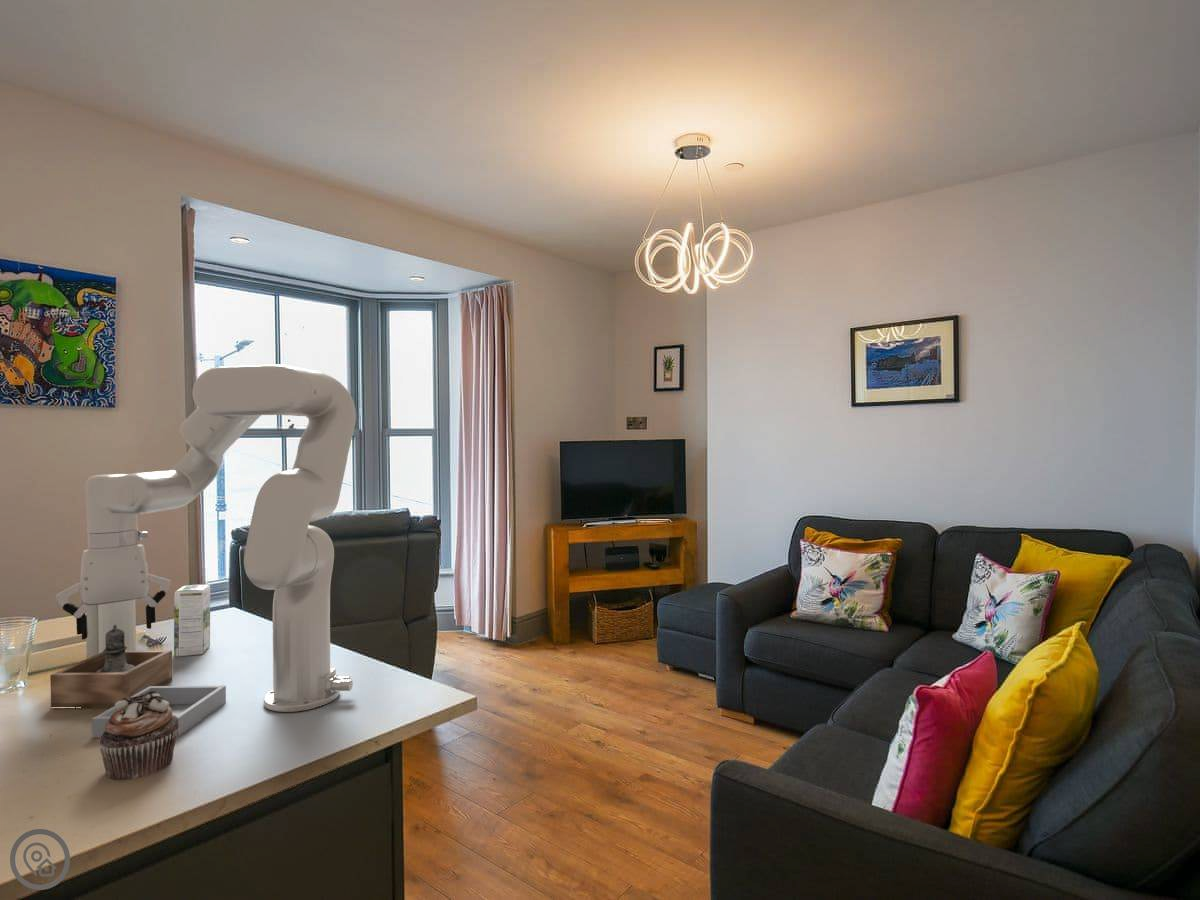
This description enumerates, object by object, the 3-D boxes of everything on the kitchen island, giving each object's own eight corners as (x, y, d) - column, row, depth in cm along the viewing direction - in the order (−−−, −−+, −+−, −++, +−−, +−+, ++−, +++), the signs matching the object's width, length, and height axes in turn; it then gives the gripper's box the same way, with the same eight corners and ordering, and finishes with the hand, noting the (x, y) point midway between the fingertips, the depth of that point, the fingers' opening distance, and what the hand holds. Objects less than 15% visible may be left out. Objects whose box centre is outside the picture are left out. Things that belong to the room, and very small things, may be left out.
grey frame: (225, 702, 118) (225, 685, 118) (178, 736, 104) (178, 717, 104) (149, 702, 118) (149, 686, 118) (92, 737, 104) (92, 718, 104)
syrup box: (181, 649, 148) (180, 585, 147) (211, 646, 149) (210, 583, 149) (173, 657, 142) (172, 591, 142) (204, 654, 144) (203, 589, 144)
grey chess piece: (113, 695, 118) (113, 629, 118) (87, 693, 119) (86, 627, 119) (142, 684, 124) (142, 621, 124) (116, 681, 125) (116, 619, 125)
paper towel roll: (143, 671, 134) (142, 567, 133) (115, 681, 128) (113, 573, 127) (116, 668, 135) (114, 565, 135) (86, 678, 130) (85, 571, 129)
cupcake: (86, 771, 93) (85, 702, 93) (159, 744, 102) (159, 680, 102) (118, 790, 89) (117, 717, 88) (193, 759, 97) (192, 693, 97)
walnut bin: (172, 680, 128) (172, 650, 128) (125, 708, 115) (125, 674, 115) (105, 681, 128) (105, 650, 128) (50, 708, 115) (50, 674, 115)
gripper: (168, 533, 129) (171, 619, 130) (54, 544, 119) (59, 637, 119) (170, 537, 123) (174, 627, 124) (51, 548, 113) (55, 647, 113)
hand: (117, 632), depth 121 cm, fingers open, 9 cm apart
